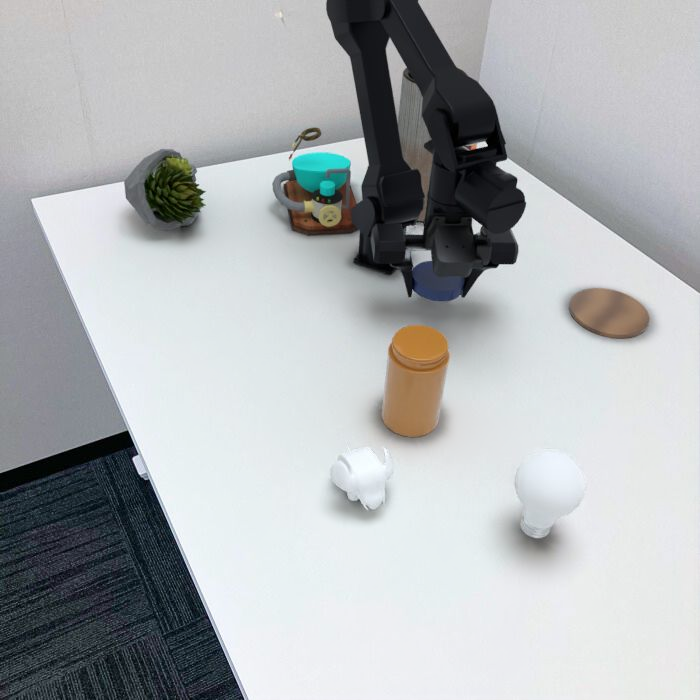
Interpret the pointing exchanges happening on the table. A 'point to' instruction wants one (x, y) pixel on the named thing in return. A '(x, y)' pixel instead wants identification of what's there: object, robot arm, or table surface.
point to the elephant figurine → (363, 475)
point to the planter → (414, 132)
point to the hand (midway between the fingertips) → (435, 295)
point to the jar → (415, 380)
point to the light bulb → (548, 489)
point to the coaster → (609, 313)
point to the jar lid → (435, 284)
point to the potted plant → (164, 190)
